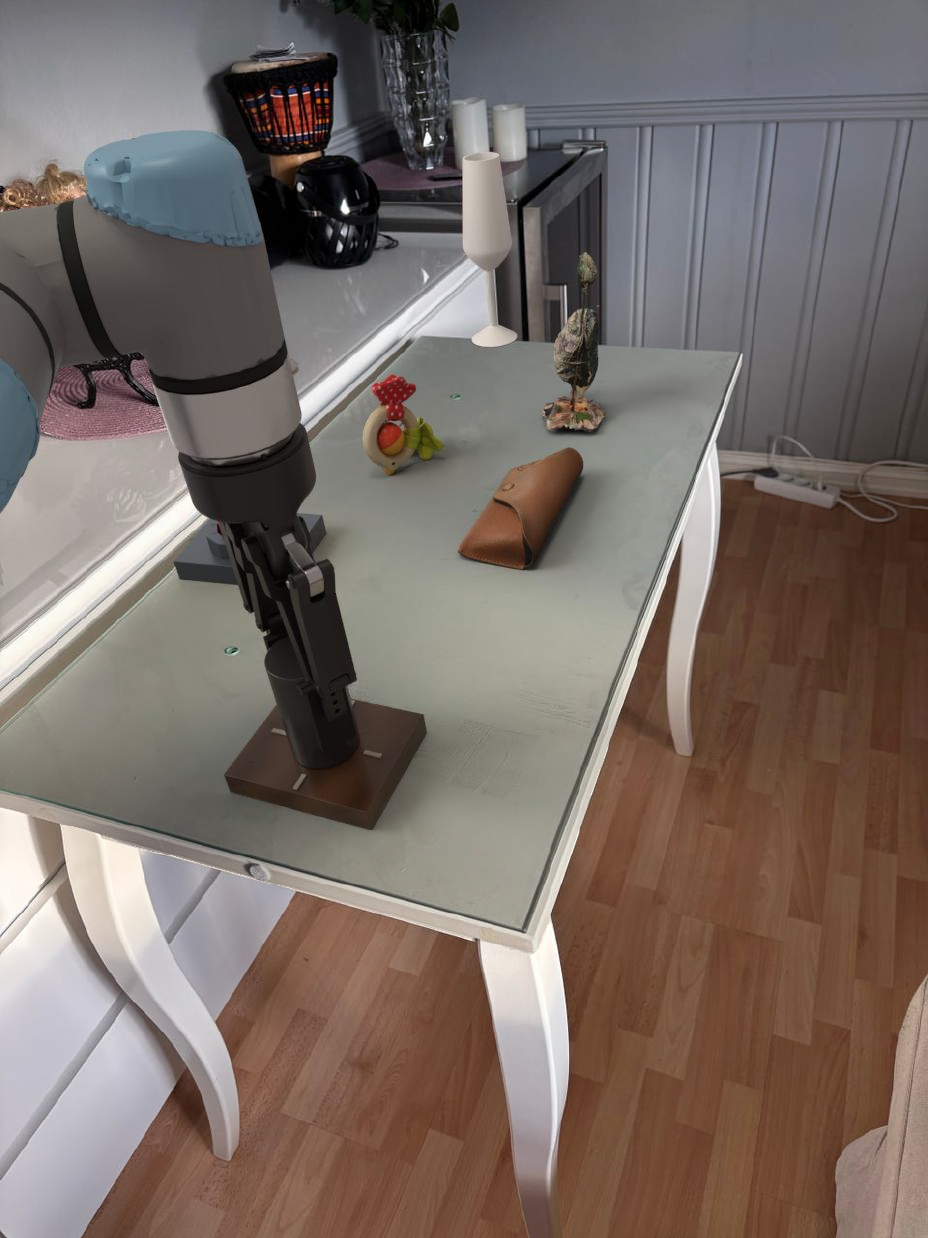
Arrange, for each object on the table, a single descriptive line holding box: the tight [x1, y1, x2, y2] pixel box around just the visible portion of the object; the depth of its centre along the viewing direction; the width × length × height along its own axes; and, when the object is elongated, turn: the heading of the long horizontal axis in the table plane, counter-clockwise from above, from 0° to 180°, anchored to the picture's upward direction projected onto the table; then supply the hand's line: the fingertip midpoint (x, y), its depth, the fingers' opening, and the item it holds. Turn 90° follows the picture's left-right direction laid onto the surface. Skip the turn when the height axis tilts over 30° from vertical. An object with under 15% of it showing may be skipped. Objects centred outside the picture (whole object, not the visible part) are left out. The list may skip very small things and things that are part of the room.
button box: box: [172, 512, 327, 585], centre depth 92 cm, size 12×10×4 cm
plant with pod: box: [540, 251, 606, 433], centre depth 104 cm, size 8×11×20 cm
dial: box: [263, 635, 360, 769], centre depth 66 cm, size 5×5×9 cm
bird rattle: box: [362, 374, 445, 475], centre depth 102 cm, size 6×11×9 cm
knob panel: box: [223, 698, 428, 831], centre depth 69 cm, size 12×10×2 cm
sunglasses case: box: [457, 447, 584, 571], centre depth 93 cm, size 18×7×7 cm, turn 160°
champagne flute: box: [462, 151, 518, 348], centre depth 124 cm, size 7×7×24 cm
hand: (318, 717), depth 67 cm, fingers closed on dial, 5 cm apart
